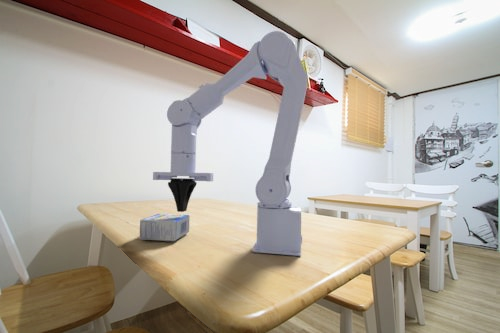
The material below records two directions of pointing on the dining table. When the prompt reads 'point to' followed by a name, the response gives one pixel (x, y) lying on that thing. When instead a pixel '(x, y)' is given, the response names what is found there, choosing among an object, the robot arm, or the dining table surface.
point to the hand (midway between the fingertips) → (181, 211)
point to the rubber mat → (164, 240)
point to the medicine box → (164, 227)
